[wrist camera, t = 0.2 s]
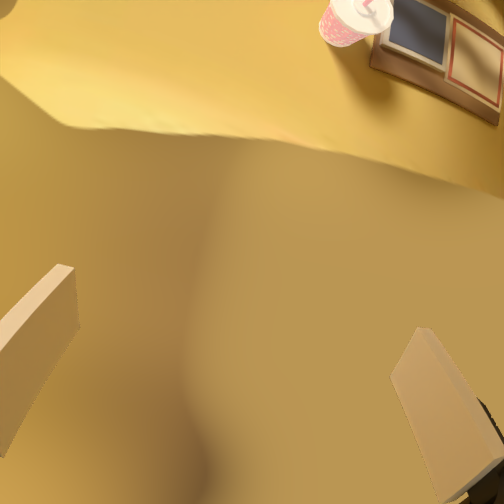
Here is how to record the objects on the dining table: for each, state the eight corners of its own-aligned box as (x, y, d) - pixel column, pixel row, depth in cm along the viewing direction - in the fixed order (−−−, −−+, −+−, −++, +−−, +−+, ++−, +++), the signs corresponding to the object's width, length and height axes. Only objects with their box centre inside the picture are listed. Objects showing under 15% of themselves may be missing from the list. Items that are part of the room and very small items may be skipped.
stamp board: (383, -28, 26) (388, -34, 24) (502, 38, 28) (510, 37, 26) (369, 66, 31) (375, 64, 30) (494, 125, 33) (502, 126, 31)
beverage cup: (345, 1, 28) (391, -48, 15) (371, 43, 30) (431, 10, 17) (302, 17, 29) (332, -35, 16) (329, 60, 31) (375, 27, 18)
